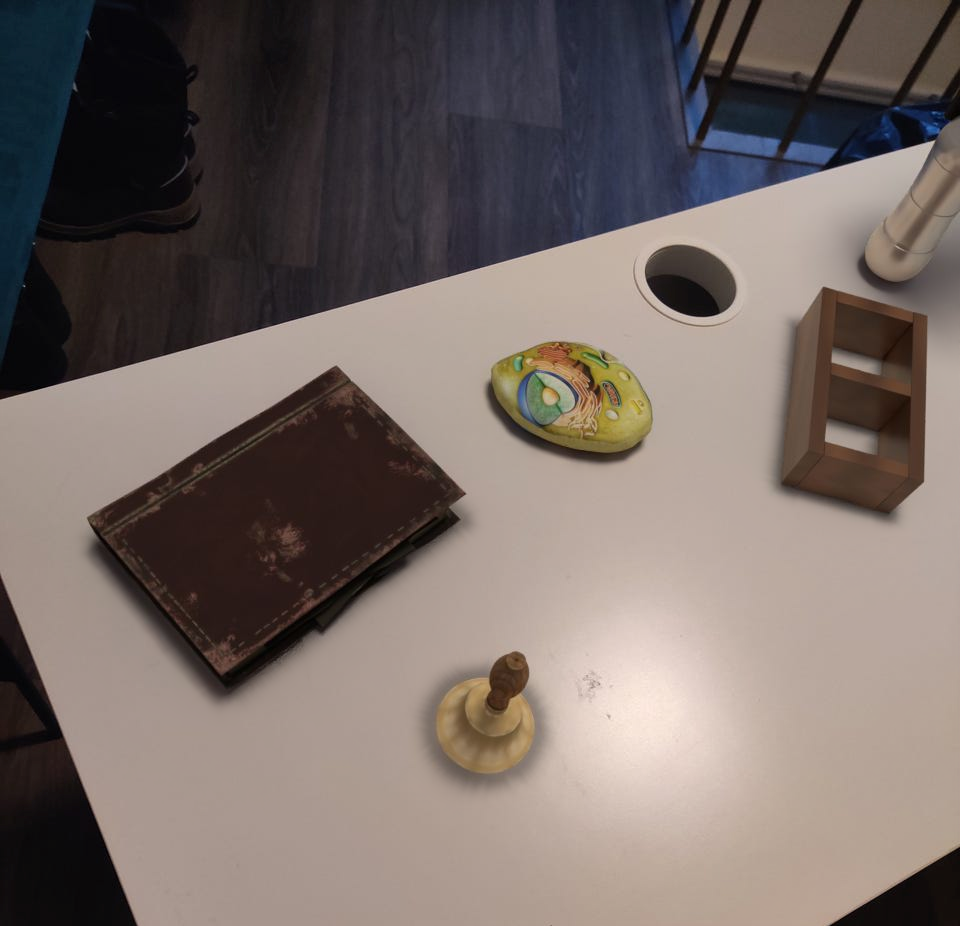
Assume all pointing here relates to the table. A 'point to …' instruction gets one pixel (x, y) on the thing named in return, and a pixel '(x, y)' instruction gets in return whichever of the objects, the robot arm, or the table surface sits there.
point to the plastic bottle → (920, 213)
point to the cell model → (574, 396)
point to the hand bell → (488, 718)
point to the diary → (278, 523)
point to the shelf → (858, 401)
